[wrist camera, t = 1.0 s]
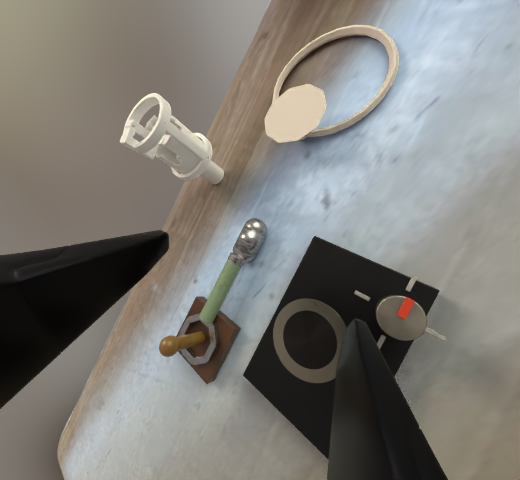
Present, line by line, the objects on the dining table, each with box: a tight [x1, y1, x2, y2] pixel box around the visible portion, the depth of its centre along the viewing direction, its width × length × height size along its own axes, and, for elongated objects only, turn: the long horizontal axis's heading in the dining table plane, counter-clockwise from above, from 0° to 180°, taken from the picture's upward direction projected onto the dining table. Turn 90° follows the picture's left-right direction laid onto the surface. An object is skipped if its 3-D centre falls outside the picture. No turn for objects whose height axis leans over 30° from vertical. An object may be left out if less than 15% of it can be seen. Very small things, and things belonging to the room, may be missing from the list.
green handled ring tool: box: [179, 218, 267, 365], centre depth 29 cm, size 21×6×4 cm, turn 149°
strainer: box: [120, 93, 224, 185], centre depth 30 cm, size 7×7×15 cm
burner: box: [273, 299, 347, 383], centre depth 22 cm, size 8×8×1 cm
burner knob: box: [375, 295, 427, 341], centre depth 17 cm, size 3×3×4 cm
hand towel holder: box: [265, 25, 399, 143], centre depth 29 cm, size 17×4×21 cm
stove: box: [243, 236, 446, 459], centre depth 22 cm, size 18×14×3 cm
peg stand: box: [159, 297, 240, 384], centre depth 27 cm, size 8×8×8 cm
